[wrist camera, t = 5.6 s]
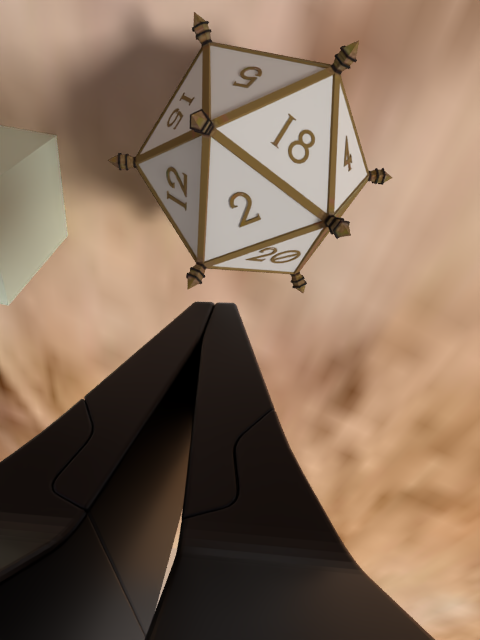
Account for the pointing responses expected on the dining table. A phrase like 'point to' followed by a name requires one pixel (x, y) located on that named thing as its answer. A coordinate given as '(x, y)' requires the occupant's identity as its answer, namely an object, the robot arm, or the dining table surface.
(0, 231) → the sage block
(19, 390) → the dining table surface
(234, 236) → the game die
